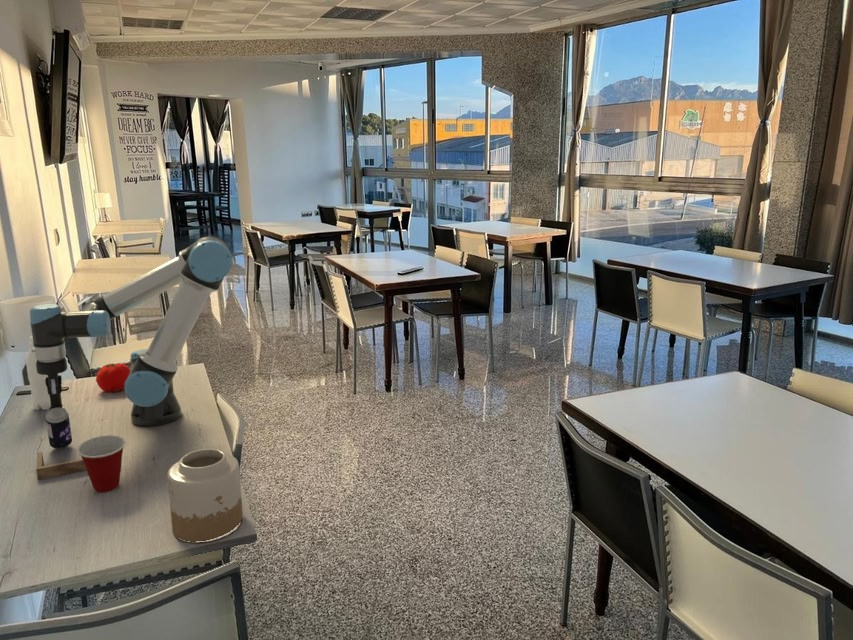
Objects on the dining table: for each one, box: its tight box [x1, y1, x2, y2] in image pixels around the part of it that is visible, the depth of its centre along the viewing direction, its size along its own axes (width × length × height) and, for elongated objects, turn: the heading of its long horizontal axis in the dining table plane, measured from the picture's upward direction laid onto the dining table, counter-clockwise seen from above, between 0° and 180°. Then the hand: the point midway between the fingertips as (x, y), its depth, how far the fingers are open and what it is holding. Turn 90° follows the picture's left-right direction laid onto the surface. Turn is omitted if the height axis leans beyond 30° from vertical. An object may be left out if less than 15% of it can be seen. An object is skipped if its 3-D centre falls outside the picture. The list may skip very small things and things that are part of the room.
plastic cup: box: [76, 434, 126, 493], centre depth 154 cm, size 11×11×12 cm
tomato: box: [95, 361, 131, 393], centre depth 223 cm, size 11×13×10 cm
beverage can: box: [44, 407, 73, 450], centre depth 174 cm, size 6×6×12 cm
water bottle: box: [24, 335, 51, 411], centre depth 204 cm, size 7×7×25 cm
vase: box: [167, 448, 244, 542], centre depth 138 cm, size 15×15×17 cm
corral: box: [35, 451, 87, 481], centre depth 166 cm, size 12×11×3 cm
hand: (60, 434), depth 180 cm, fingers closed
